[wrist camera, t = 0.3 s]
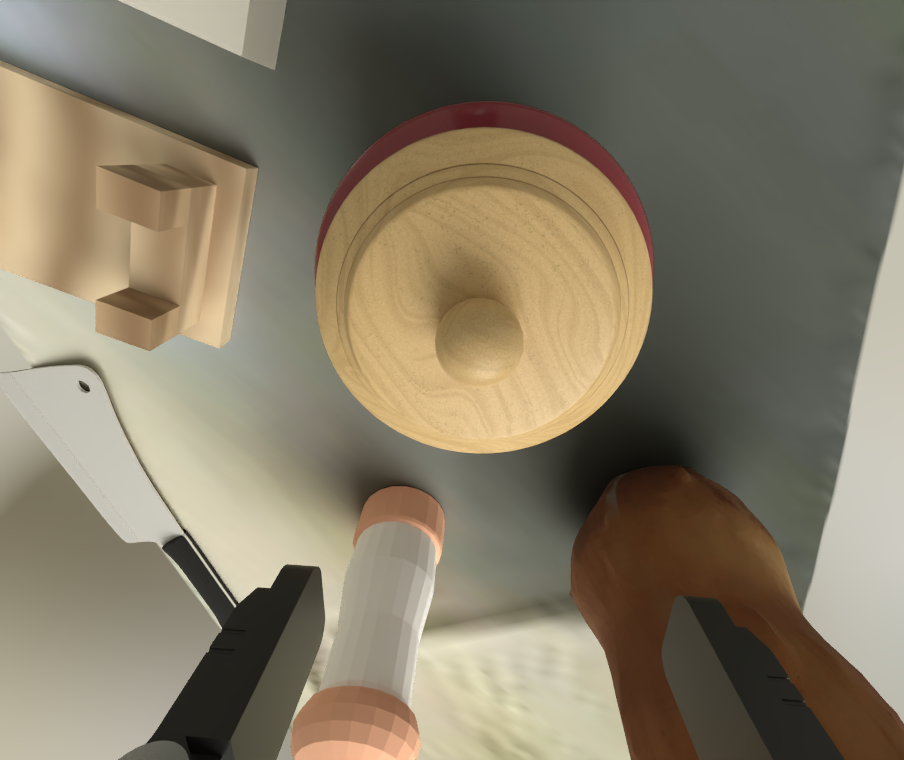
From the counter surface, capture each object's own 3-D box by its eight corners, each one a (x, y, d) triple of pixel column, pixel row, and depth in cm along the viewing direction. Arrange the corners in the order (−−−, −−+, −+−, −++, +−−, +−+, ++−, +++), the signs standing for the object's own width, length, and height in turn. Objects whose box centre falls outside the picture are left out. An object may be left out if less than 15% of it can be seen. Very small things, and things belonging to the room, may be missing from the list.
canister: (348, 159, 26) (139, 168, 10) (572, 92, 24) (750, -31, 8) (412, 356, 31) (341, 559, 16) (597, 317, 29) (731, 506, 13)
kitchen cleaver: (-21, 379, 34) (75, 364, 31) (3, 369, 35) (96, 354, 33) (177, 629, 48) (254, 633, 45) (188, 615, 49) (264, 618, 46)
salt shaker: (377, 474, 36) (286, 754, 19) (458, 503, 37) (438, 795, 20) (352, 531, 40) (255, 815, 23) (427, 556, 41) (387, 847, 24)
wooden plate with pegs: (-67, 231, 29) (-202, 249, 23) (-103, 17, 24) (-290, -27, 18) (230, 340, 32) (173, 381, 26) (258, 168, 26) (195, 172, 20)
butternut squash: (716, 553, 38) (1041, 1107, 16) (560, 565, 40) (657, 1077, 18) (732, 420, 32) (1297, 1018, 10) (547, 441, 34) (672, 986, 12)
